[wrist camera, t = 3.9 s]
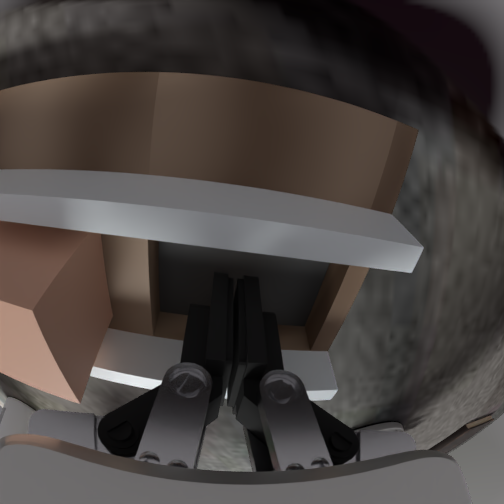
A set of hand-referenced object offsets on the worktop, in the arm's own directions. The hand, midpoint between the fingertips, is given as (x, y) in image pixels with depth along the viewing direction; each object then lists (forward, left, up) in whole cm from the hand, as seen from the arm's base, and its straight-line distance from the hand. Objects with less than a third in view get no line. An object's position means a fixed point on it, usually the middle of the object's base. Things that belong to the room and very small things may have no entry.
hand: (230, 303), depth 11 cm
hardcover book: (-60, +48, -4) cm, 77 cm away
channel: (+3, 0, -1) cm, 3 cm away
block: (+8, 0, -1) cm, 8 cm away
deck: (+7, 0, -3) cm, 8 cm away
